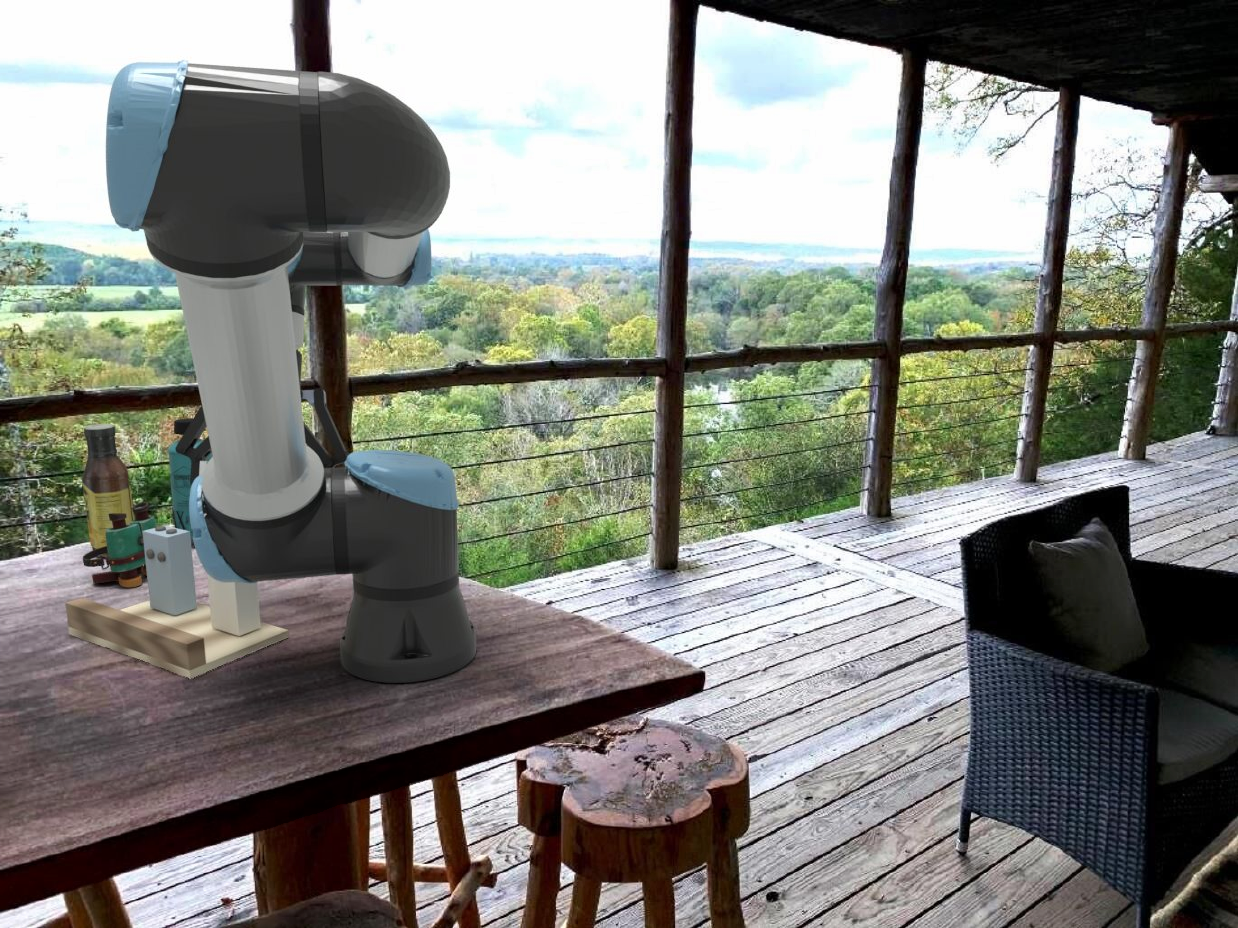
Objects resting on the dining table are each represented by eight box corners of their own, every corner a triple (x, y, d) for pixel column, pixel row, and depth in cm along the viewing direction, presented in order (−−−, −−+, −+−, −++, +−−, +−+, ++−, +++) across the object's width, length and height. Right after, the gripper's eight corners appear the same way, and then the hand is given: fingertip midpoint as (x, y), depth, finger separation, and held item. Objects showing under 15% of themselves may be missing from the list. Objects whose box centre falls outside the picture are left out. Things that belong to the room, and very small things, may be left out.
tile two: (197, 607, 114) (189, 529, 112) (172, 616, 112) (164, 535, 109) (172, 600, 117) (164, 523, 115) (148, 608, 114) (139, 529, 112)
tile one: (260, 627, 108) (254, 544, 106) (237, 636, 106) (229, 552, 104) (233, 619, 111) (226, 538, 109) (209, 628, 108) (201, 545, 106)
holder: (288, 638, 109) (286, 606, 108) (190, 679, 98) (187, 644, 97) (169, 601, 120) (166, 572, 119) (69, 634, 109) (65, 602, 108)
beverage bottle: (176, 539, 146) (164, 416, 142) (221, 535, 149) (210, 414, 145) (174, 551, 140) (161, 423, 136) (221, 546, 143) (210, 421, 139)
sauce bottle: (104, 546, 142) (89, 421, 138) (145, 546, 143) (132, 421, 138) (82, 560, 136) (66, 429, 132) (125, 559, 136) (111, 429, 132)
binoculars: (105, 501, 132) (165, 499, 129) (119, 571, 134) (178, 570, 131) (56, 517, 123) (119, 515, 121) (72, 592, 125) (134, 590, 123)
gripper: (375, 358, 120) (366, 519, 120) (174, 344, 116) (163, 510, 115) (370, 350, 113) (360, 521, 112) (155, 334, 109) (143, 512, 108)
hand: (260, 516), depth 114 cm, fingers open, 13 cm apart
